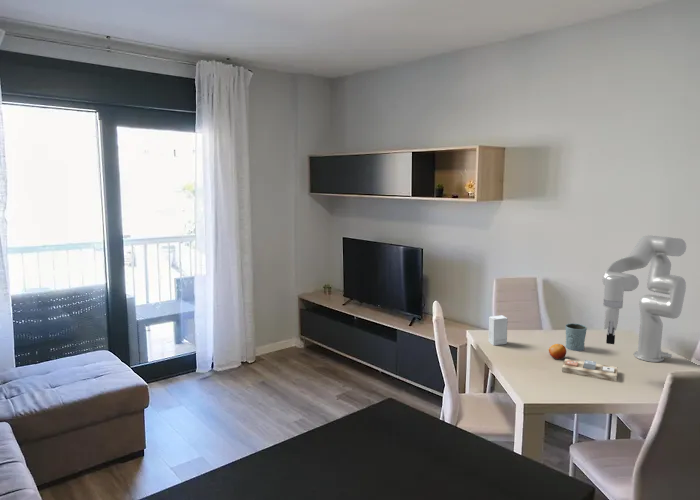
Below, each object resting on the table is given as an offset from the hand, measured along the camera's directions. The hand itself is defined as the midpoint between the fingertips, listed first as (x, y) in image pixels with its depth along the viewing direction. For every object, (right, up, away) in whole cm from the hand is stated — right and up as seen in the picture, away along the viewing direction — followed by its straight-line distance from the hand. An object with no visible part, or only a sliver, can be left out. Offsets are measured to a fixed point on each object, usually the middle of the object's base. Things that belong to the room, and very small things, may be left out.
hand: (610, 343), depth 218 cm
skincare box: (-37, -9, +46) cm, 59 cm away
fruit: (-13, -12, +24) cm, 30 cm away
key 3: (-13, -13, +9) cm, 21 cm away
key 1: (0, -14, +2) cm, 14 cm away
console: (-7, -14, +6) cm, 17 cm away
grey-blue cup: (+1, -10, +37) cm, 39 cm away
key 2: (-7, -12, +5) cm, 15 cm away
